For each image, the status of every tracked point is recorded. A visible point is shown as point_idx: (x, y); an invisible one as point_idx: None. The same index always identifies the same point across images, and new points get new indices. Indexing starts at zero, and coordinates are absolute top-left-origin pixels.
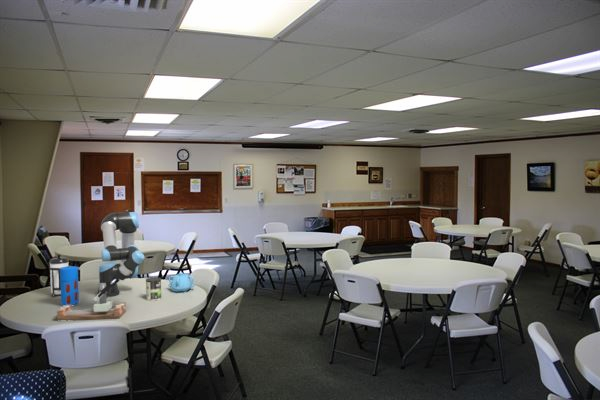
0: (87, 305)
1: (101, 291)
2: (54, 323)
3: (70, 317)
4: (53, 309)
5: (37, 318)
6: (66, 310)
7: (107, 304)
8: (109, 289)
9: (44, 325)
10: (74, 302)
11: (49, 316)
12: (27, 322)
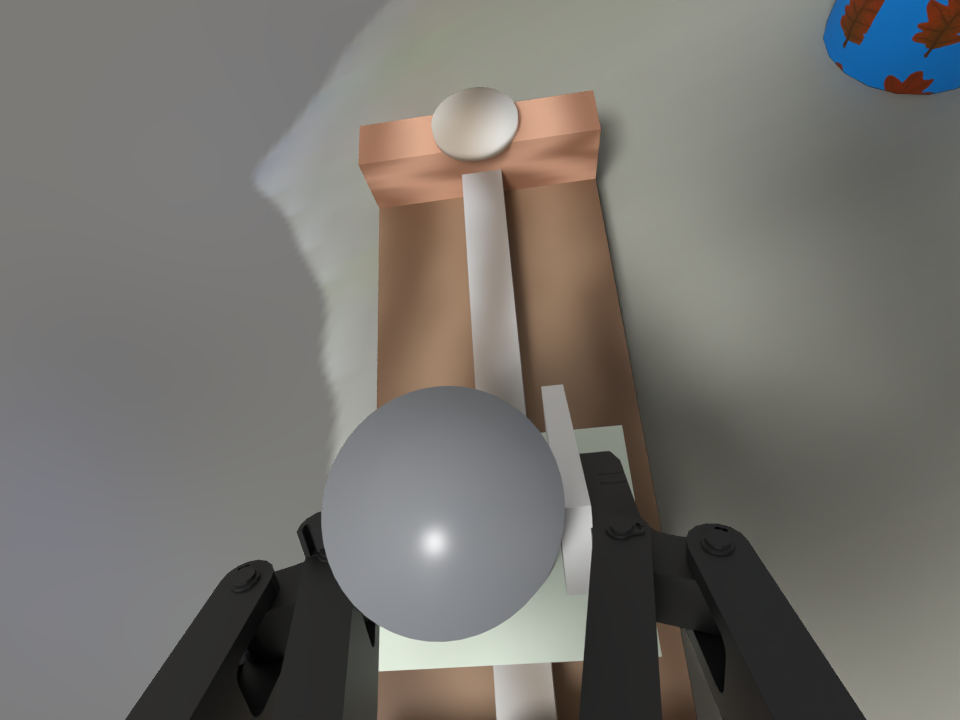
0: (908, 195)
1: (227, 593)
2: (330, 202)
3: (379, 269)
4: (720, 8)
5: (475, 36)
6: (463, 167)
7: (390, 669)
8: (696, 632)
9: (294, 162)
10: (894, 61)
11: (522, 79)
12: (386, 31)
